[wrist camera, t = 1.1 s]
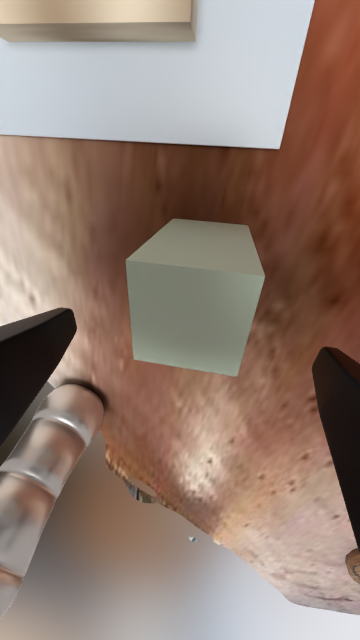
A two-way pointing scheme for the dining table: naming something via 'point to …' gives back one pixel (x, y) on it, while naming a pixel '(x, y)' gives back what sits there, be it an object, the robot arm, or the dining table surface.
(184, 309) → the block
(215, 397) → the dining table surface
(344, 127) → the dining table surface
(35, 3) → the foundation slab
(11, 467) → the plastic bottle
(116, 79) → the board
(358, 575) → the trivet
